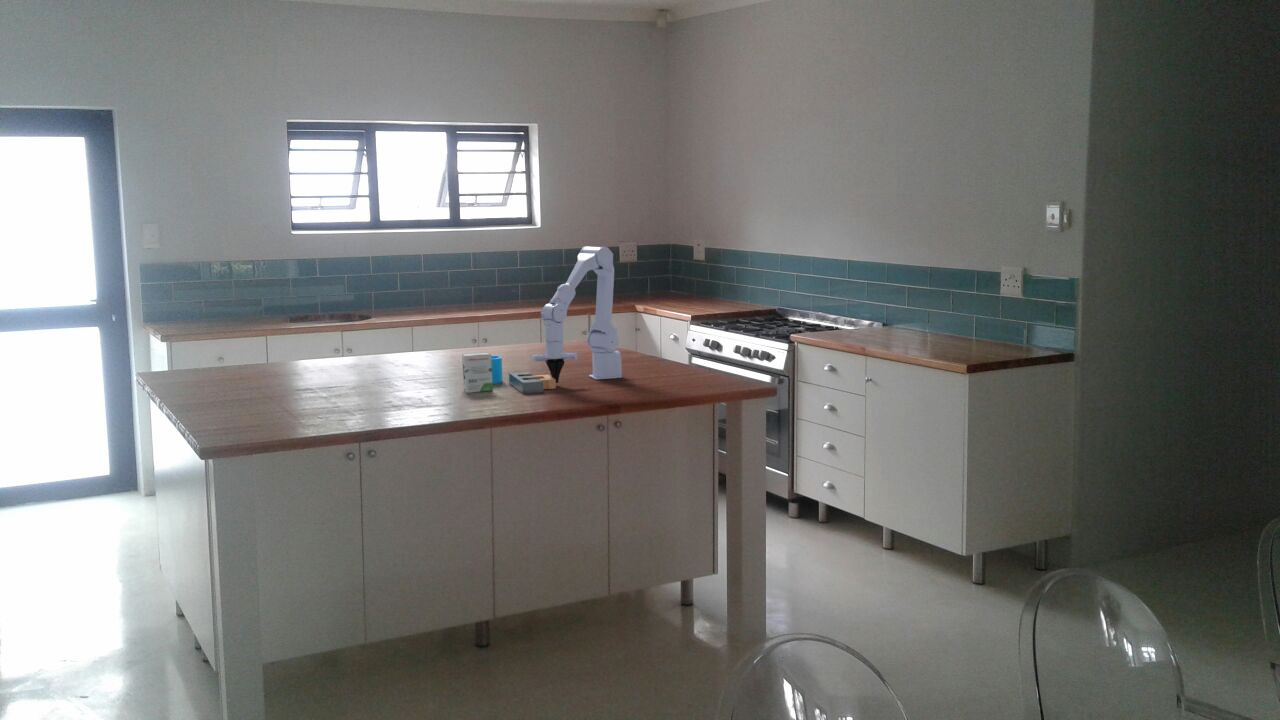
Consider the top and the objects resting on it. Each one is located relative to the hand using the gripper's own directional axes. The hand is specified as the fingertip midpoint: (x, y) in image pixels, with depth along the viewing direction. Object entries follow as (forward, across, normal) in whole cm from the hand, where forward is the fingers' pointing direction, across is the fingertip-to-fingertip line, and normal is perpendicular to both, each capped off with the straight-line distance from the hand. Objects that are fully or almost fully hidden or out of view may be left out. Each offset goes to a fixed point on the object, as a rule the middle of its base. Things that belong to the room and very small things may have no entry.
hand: (555, 382), depth 366 cm
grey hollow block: (+1, +10, 0) cm, 10 cm away
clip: (+1, +5, 0) cm, 5 cm away
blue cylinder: (+1, +18, -18) cm, 26 cm away
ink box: (+1, +25, -1) cm, 25 cm away
